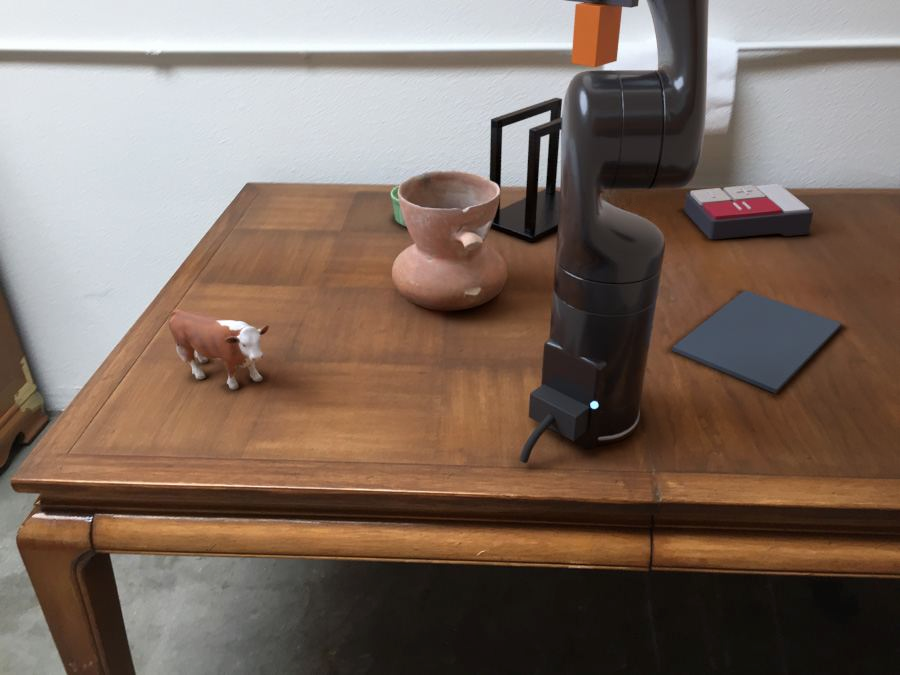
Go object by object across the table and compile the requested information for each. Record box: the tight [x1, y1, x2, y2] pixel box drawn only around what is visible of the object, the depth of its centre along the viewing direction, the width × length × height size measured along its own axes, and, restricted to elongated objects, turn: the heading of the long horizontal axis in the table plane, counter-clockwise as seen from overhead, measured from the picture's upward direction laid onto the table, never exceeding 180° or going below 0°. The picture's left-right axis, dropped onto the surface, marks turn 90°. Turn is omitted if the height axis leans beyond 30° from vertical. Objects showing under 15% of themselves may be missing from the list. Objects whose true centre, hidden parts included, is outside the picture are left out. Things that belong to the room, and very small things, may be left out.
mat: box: [671, 289, 843, 395], centre depth 88 cm, size 18×12×1 cm, turn 137°
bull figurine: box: [168, 308, 270, 391], centre depth 80 cm, size 4×13×8 cm, turn 58°
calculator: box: [683, 183, 814, 241], centre depth 115 cm, size 11×4×15 cm
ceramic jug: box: [391, 170, 508, 311], centre depth 95 cm, size 18×14×14 cm
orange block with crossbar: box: [565, 0, 640, 68], centre depth 95 cm, size 5×10×12 cm, turn 47°
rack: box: [489, 97, 563, 244], centre depth 114 cm, size 17×10×16 cm, turn 137°
